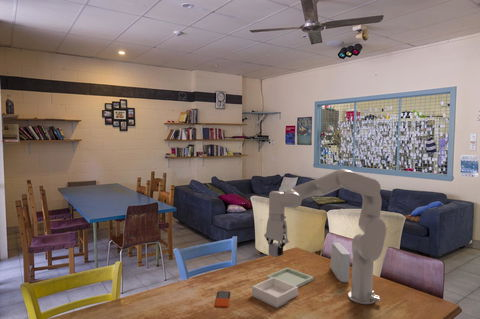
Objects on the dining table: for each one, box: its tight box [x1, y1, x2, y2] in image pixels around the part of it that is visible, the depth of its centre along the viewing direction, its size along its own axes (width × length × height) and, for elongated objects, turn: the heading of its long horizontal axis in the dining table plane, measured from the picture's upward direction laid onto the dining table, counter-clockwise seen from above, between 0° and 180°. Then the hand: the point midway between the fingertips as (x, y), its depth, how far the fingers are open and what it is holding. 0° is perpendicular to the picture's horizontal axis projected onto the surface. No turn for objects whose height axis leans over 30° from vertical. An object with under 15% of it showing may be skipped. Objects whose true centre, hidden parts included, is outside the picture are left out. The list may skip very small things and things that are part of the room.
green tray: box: [266, 267, 314, 289], centre depth 180 cm, size 18×18×2 cm
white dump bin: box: [251, 277, 299, 309], centre depth 162 cm, size 16×16×5 cm
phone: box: [213, 290, 231, 309], centre depth 158 cm, size 6×1×15 cm
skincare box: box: [329, 242, 351, 283], centre depth 189 cm, size 21×6×16 cm, turn 179°
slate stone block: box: [268, 241, 284, 258], centre depth 161 cm, size 5×5×5 cm
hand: (275, 253), depth 161 cm, fingers closed on slate stone block, 5 cm apart
